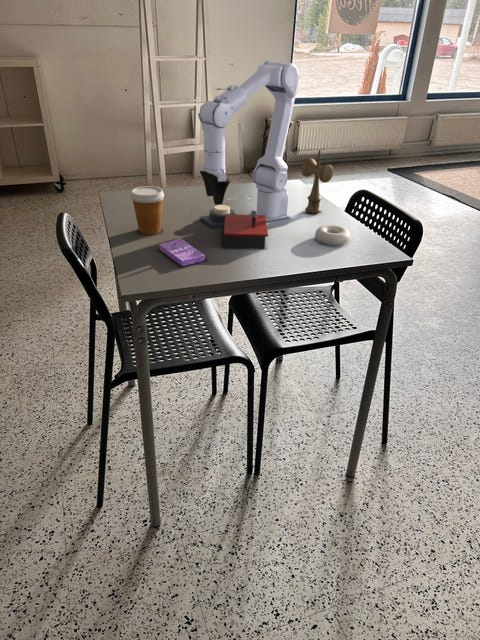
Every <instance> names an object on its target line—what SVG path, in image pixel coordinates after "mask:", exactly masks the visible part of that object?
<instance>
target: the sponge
mask: <svg viewBox="0 0 480 640" xmlns="http://www.w3.org/2000/svg"><path fill="white" fill-rule="evenodd" d="M158 246H159V251H160V252H162V253H163V254H165V255H166V256H167V257H169V258H170V259H171V260H173V261H174V262H176V263H177V264H178V265H180V266H182V267H185V266H186V267H187V266H189V265H193V264H197V263H201V262H204V261H206V256H205V254H204V253H203V252H201V251H200V250H198V249H196V248H195V247H193V246H192V245H190V243H188V242H187V241H185V240H184V239H182V238H178V239H174V240H170V241H167V242H161V243H158Z"/></svg>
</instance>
